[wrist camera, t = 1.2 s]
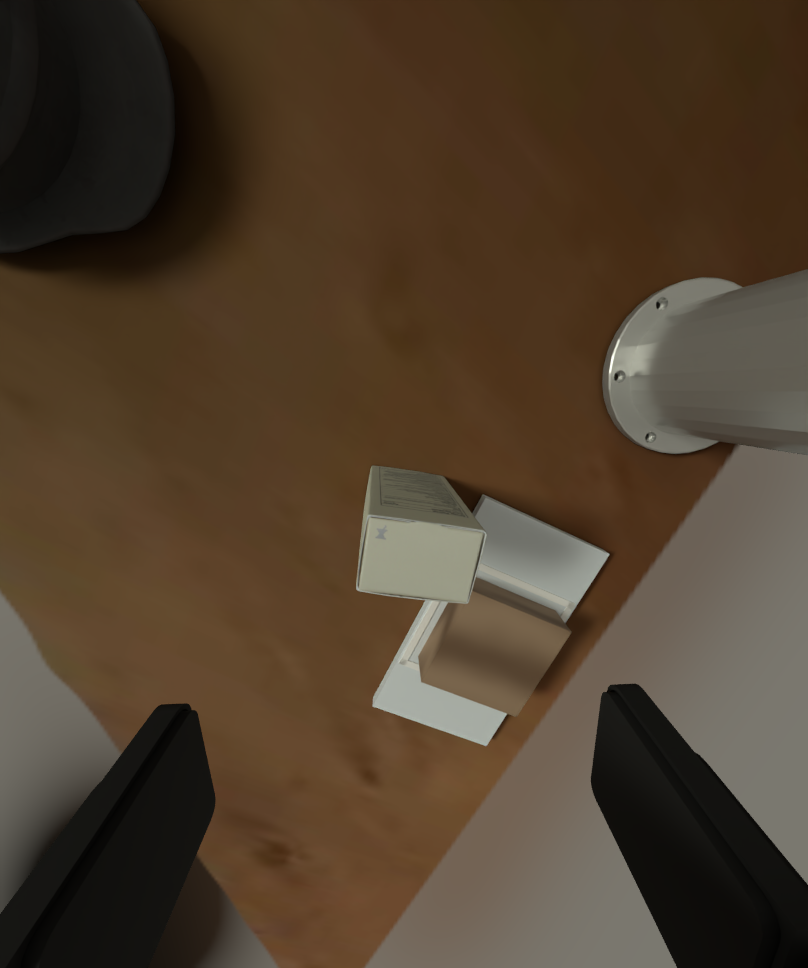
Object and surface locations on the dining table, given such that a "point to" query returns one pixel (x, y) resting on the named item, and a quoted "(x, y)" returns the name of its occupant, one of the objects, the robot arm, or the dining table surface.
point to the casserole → (80, 119)
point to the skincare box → (417, 538)
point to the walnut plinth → (492, 647)
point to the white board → (512, 566)
